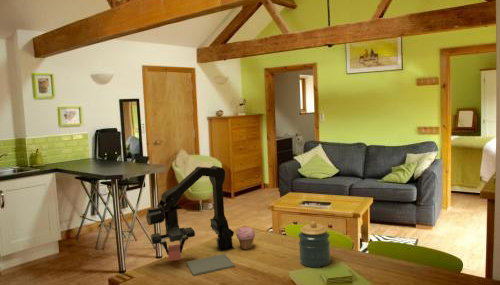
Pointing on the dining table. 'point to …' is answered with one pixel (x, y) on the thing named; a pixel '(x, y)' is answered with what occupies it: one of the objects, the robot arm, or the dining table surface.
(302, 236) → the canister
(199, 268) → the mat
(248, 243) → the cupcake
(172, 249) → the red block
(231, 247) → the robot arm
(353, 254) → the dining table surface
